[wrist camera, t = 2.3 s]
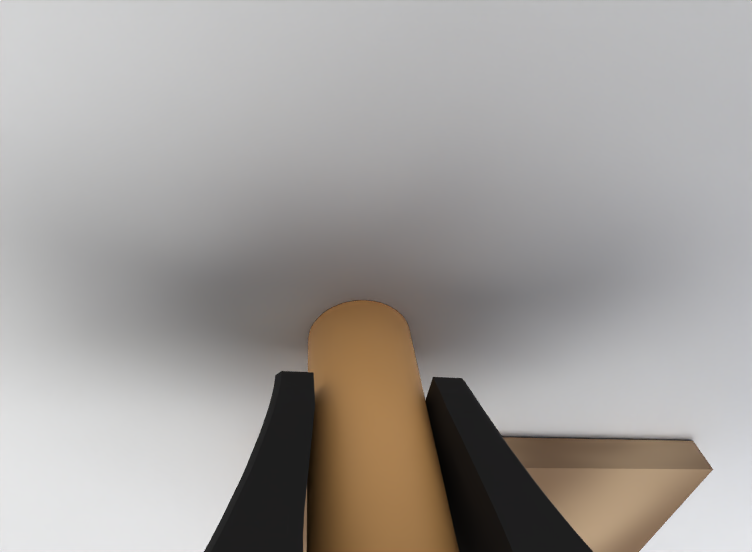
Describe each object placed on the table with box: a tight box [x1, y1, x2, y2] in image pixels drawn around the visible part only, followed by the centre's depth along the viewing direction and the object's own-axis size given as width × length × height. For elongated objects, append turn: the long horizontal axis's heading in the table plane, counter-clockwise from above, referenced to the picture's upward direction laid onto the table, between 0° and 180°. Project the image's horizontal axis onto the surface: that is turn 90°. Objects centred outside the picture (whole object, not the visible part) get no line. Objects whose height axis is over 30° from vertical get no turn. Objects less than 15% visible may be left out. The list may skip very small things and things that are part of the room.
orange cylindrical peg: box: [307, 300, 459, 552], centre depth 9 cm, size 2×2×7 cm
